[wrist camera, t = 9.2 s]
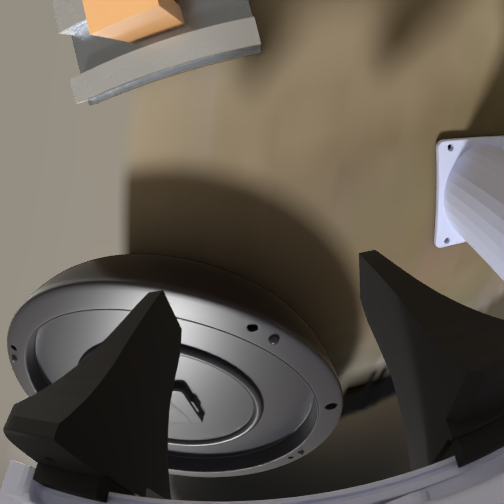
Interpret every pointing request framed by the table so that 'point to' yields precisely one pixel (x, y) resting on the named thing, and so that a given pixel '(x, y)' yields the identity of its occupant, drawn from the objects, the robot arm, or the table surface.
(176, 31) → the slotted rail
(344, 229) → the table surface
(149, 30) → the orange notched block
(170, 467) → the grey bolted disc
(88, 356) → the robot arm
